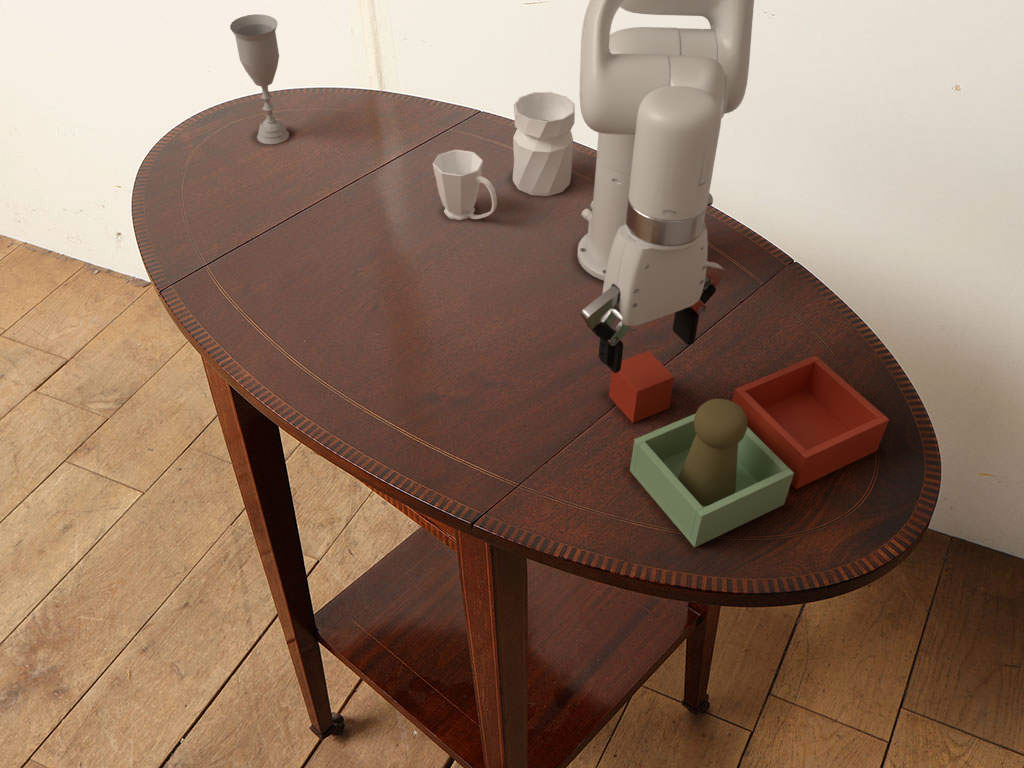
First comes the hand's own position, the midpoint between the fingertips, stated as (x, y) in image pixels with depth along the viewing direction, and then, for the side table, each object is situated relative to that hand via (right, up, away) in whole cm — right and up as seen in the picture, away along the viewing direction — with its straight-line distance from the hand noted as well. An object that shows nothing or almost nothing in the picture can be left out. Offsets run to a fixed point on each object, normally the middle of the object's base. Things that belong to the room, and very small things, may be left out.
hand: (646, 351), depth 107 cm
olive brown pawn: (+6, -14, -3) cm, 16 cm away
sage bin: (+6, -15, -3) cm, 16 cm away
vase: (-10, +27, +40) cm, 49 cm away
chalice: (-52, +35, +49) cm, 80 cm away
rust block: (0, -6, +6) cm, 9 cm away
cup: (-21, +20, +33) cm, 44 cm away
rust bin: (+18, -9, +3) cm, 20 cm away
